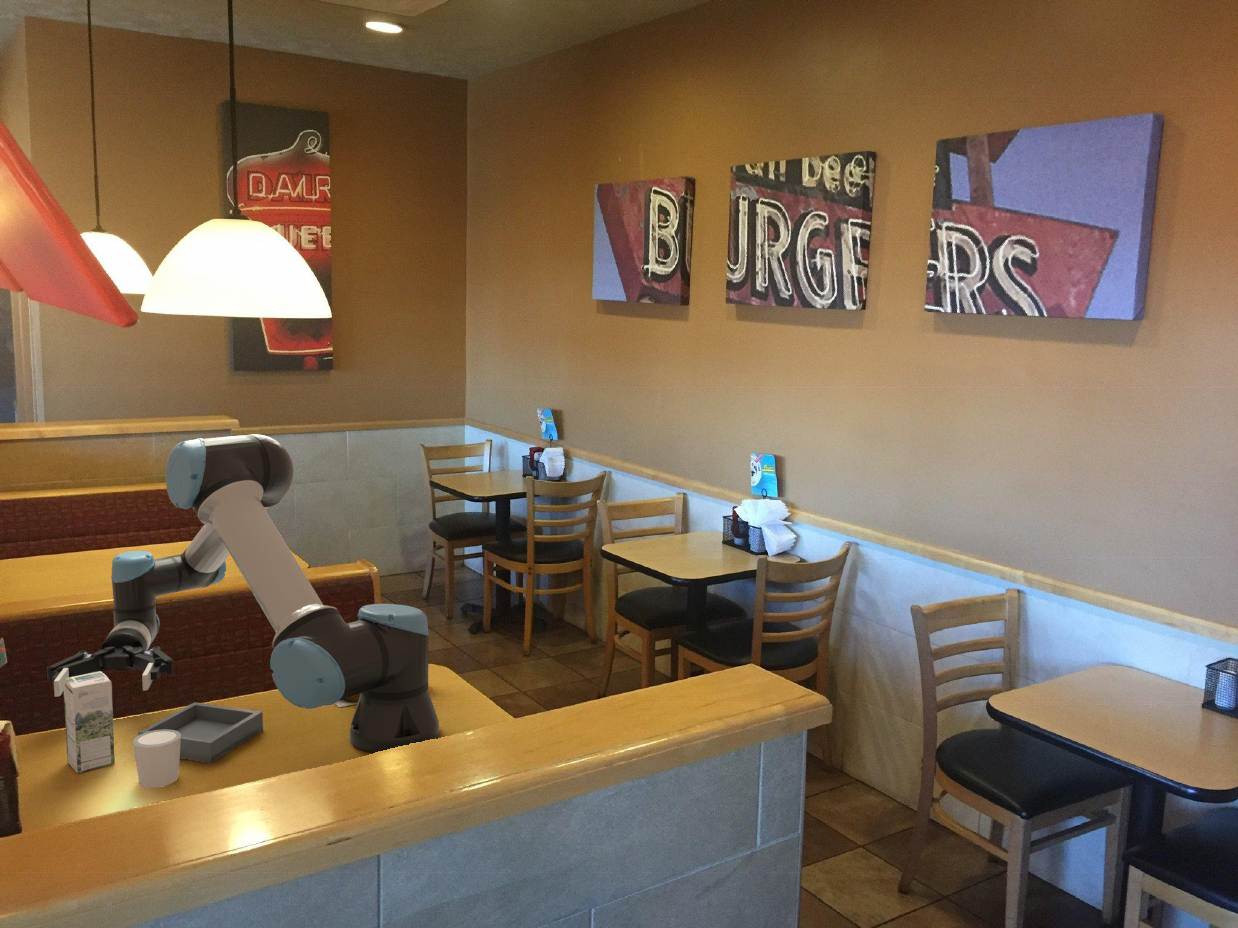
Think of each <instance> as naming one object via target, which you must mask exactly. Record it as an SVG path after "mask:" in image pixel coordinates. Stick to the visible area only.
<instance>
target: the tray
mask: <svg viewBox="0 0 1238 928" xmlns="http://www.w3.org/2000/svg"><path fill="white" fill-rule="evenodd" d="M263 714H264V712H263V711H262V710H261V711H260V710H253V709H247V708H239V707H232V706H231V707H230V706H224V705H217V704H210V703H209V704H208V703H203V702H196V701H194V702H192V703H190V704H188V705H187V706H185V707H183V708H181V709H179V710H177V711H176V712H174V713H172V714H170V715H168V716H166V717H165V718H164V717H163V718H162V719H161V720H158V721H157V722H155V723H152V724H150V725H149V726H147V727H145V728H143V729H142V730H139V731H138V733H137V736H139V735H141V734H143V733H146V732H150V731H154V730H163V729H167V730H175V731H178V732H179V733H180V734H181V743H180V759H181V760H186V759H188V761H193V760H197V761H196V762H199V761H203V762H202V763H206V762H207V763H208V764H213V763H214V762H216V761H218V760H219V759H221V758H222V757H224V756H225V755H227V754H228V753H230V752H233V750H235V749H237V748H238V747H239V746H241V745H242V744H244V743H246V742H247V741H249V740H251V739H253V737H255V736H257V735H259V734H261V733H262V732H263V731H264V717H263V716H264V715H263ZM212 762H213V763H212ZM207 763H206V764H207Z"/></svg>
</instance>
